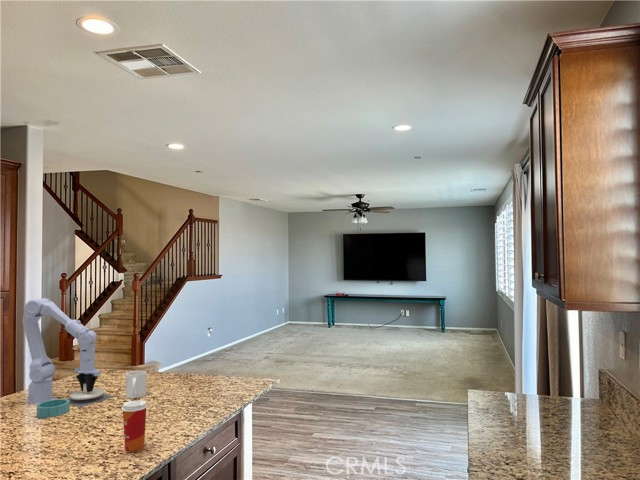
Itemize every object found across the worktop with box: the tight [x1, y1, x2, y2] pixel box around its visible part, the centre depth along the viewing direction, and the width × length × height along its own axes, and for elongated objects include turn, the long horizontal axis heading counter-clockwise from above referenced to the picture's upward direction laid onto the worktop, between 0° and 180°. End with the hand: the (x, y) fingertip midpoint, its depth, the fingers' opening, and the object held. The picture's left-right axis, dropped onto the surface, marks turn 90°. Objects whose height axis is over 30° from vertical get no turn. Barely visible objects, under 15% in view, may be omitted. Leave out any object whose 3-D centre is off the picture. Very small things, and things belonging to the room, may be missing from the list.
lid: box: [69, 383, 105, 400], centre depth 197 cm, size 13×13×5 cm
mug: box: [125, 370, 147, 399], centre depth 199 cm, size 12×8×10 cm
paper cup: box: [121, 399, 148, 452], centre depth 146 cm, size 8×8×14 cm
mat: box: [66, 393, 116, 408], centre depth 197 cm, size 16×16×1 cm
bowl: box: [36, 398, 70, 420], centre depth 180 cm, size 11×11×4 cm
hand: (87, 391), depth 197 cm, fingers closed on lid, 3 cm apart
